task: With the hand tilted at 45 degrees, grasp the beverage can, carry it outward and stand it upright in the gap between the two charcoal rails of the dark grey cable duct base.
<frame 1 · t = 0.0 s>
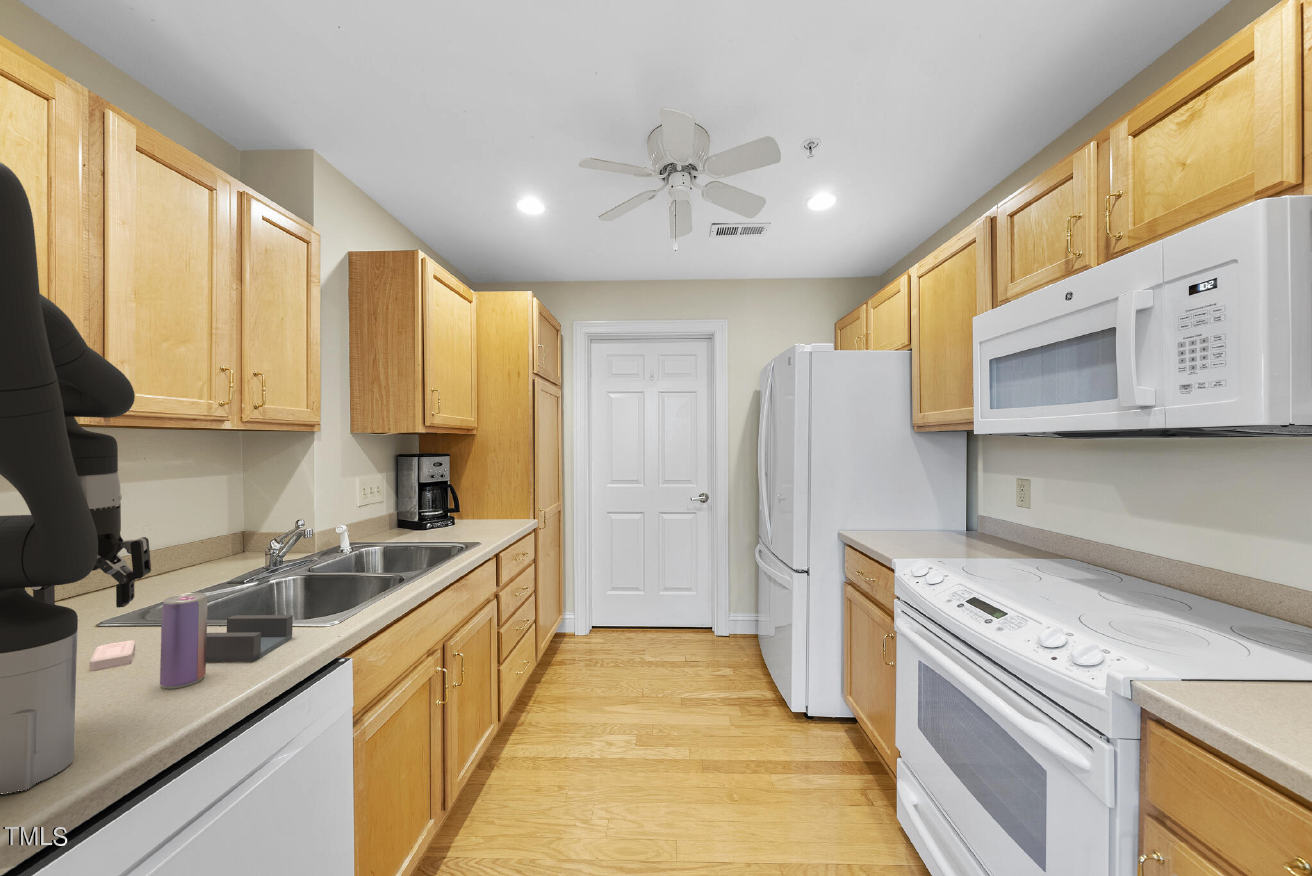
hand: (86, 608, 78), 17 cm above the counter, tool pointing down, fingers open, 8 cm apart
soap bar: (113, 662, 99), on the counter
duct channel: (242, 649, 105), on the counter
beverage can: (183, 683, 91), on the counter
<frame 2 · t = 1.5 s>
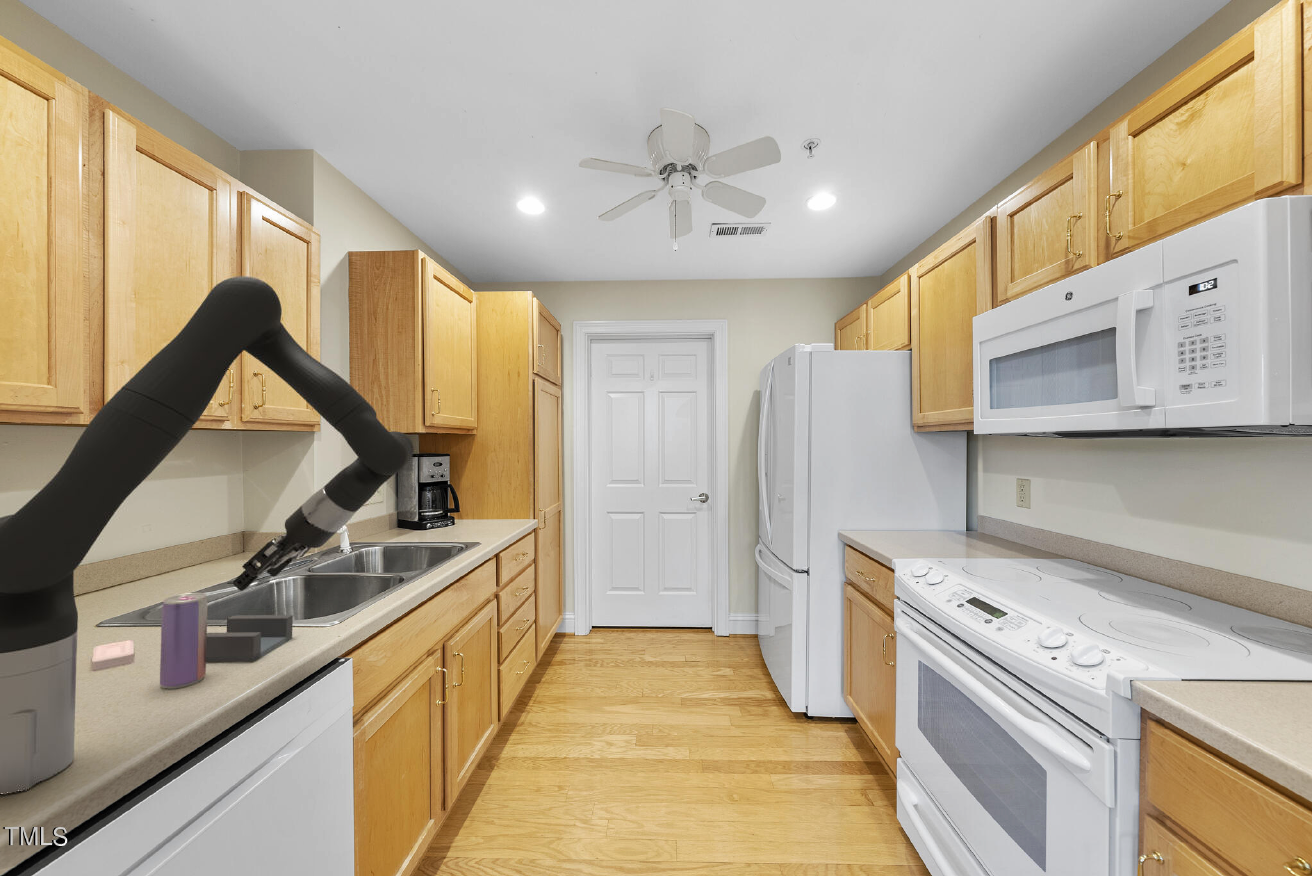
hand: (254, 579, 92), 18 cm above the counter, tool tilted 45°, fingers open, 8 cm apart
nothing on the counter moved.
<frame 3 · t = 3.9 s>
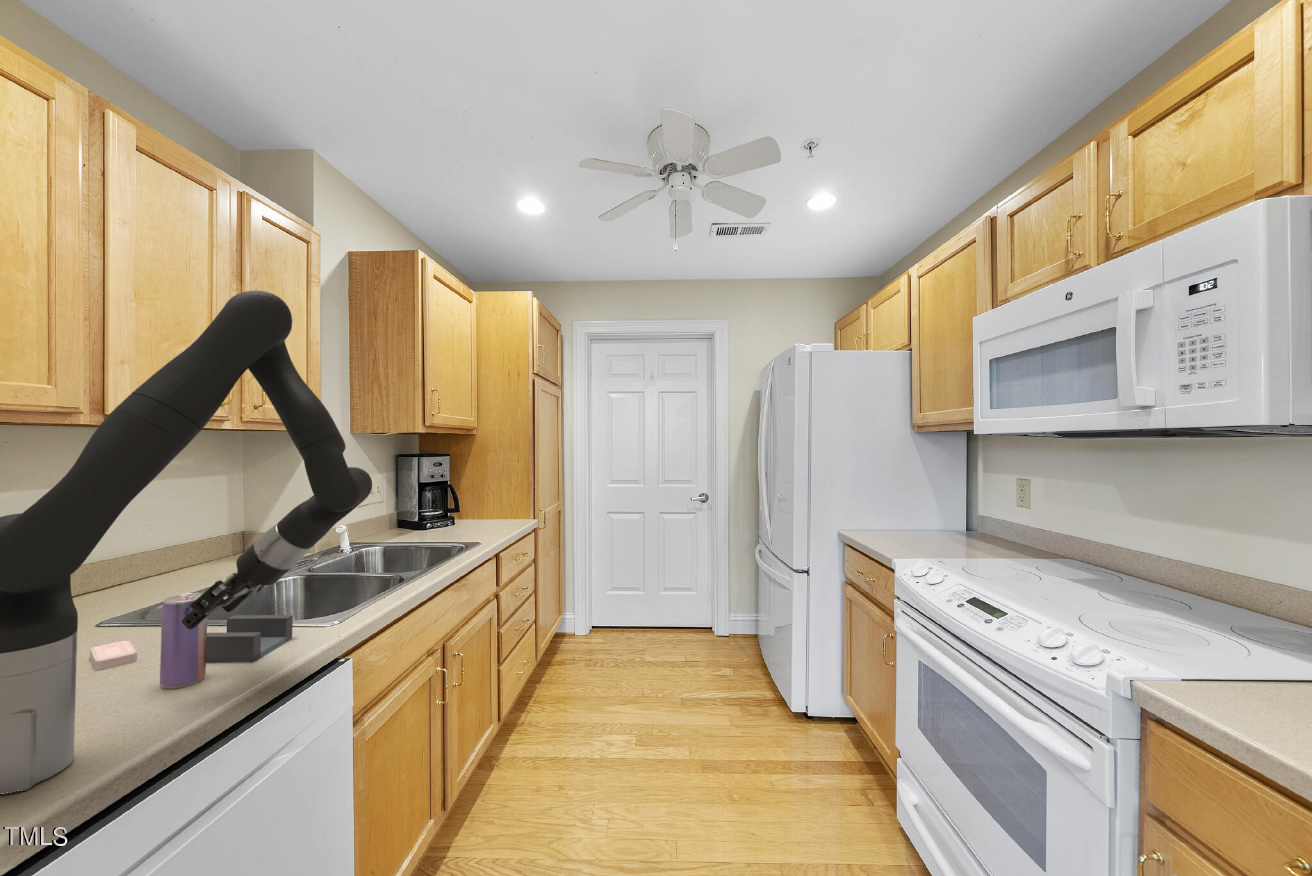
hand: (206, 616, 91), 12 cm above the counter, tool tilted 45°, fingers open, 8 cm apart
nothing on the counter moved.
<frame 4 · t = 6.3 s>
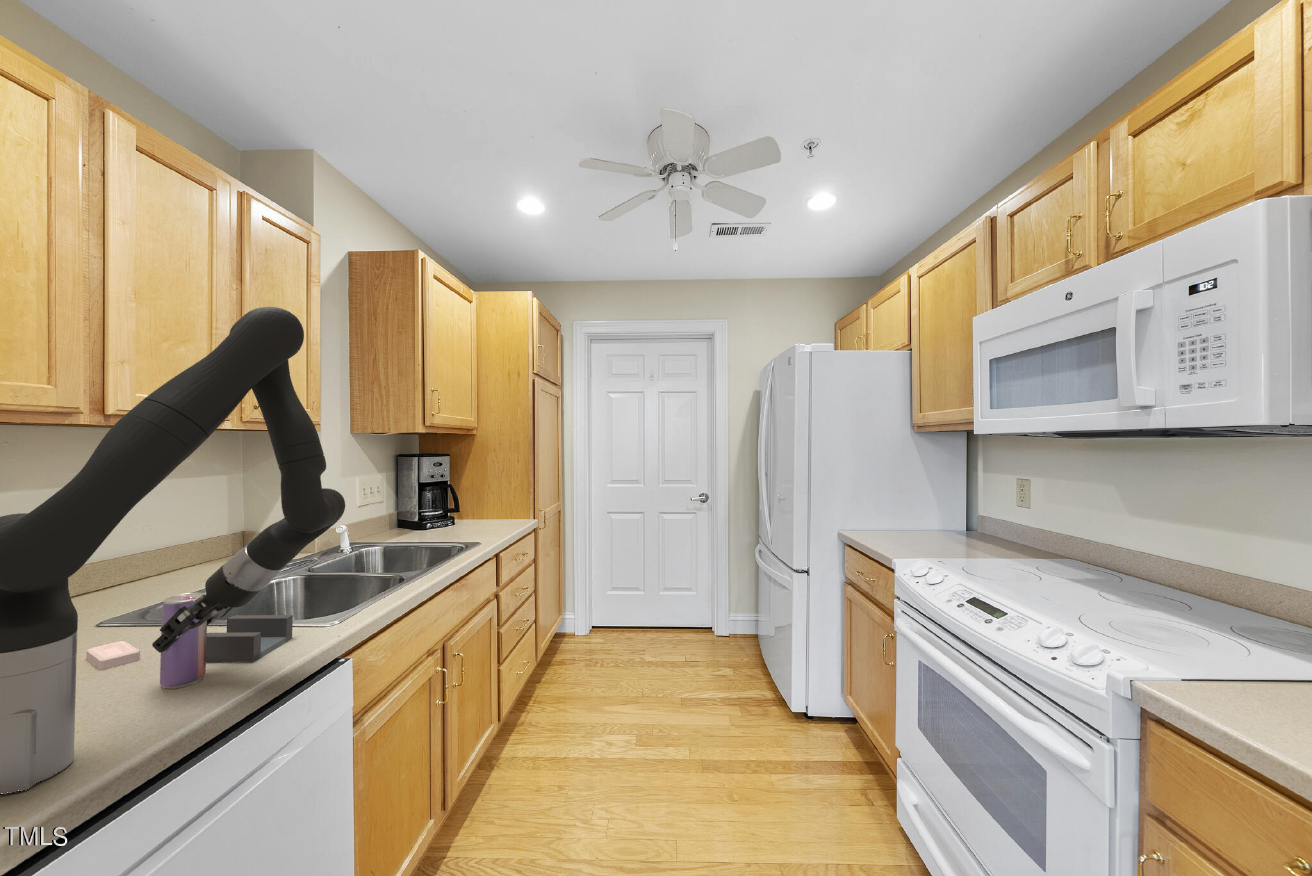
hand: (173, 640, 91), 7 cm above the counter, tool tilted 45°, fingers closed on beverage can, 5 cm apart
beverage can: (183, 682, 91), on the counter, touching gripper
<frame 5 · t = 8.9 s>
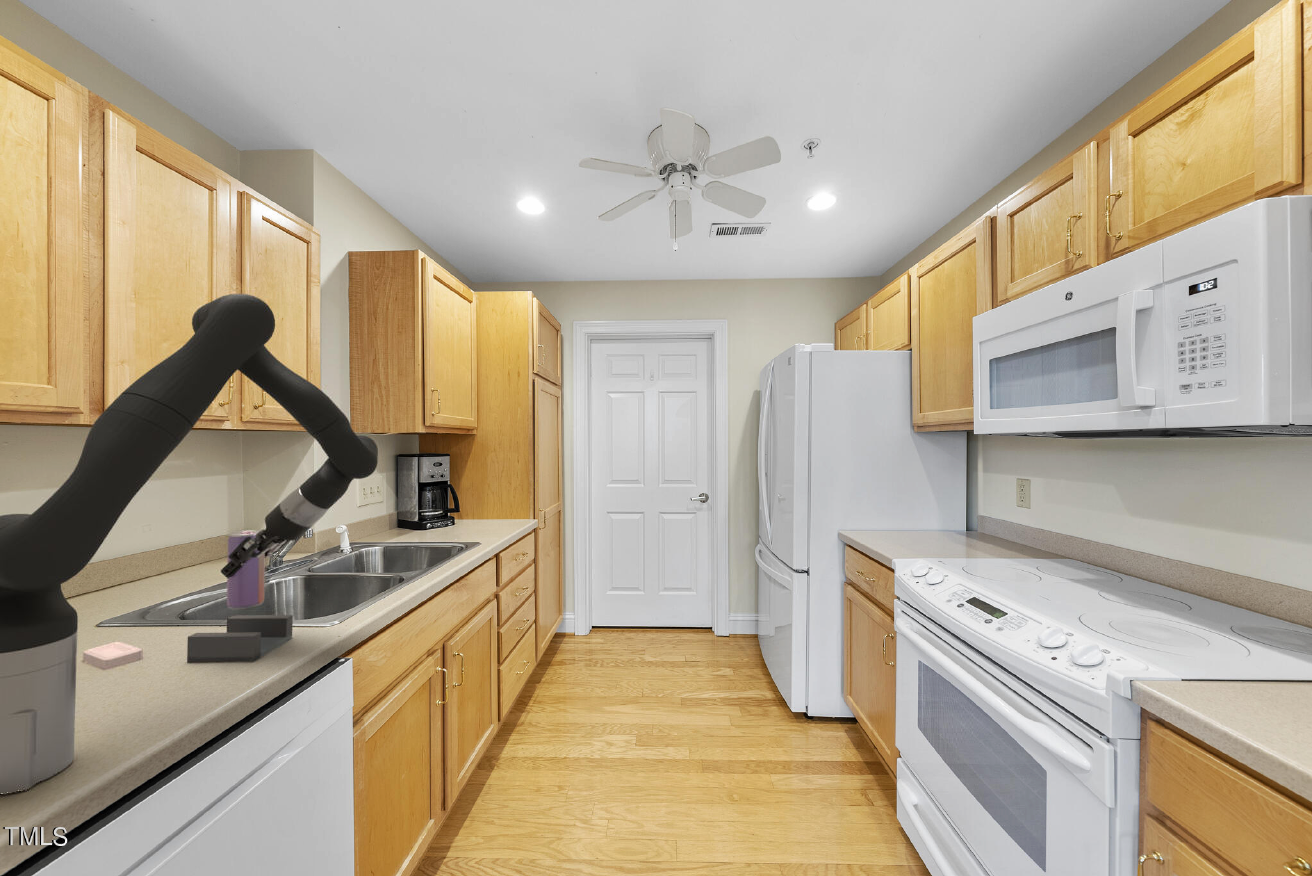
hand: (237, 570, 105), 16 cm above the counter, tool tilted 45°, fingers closed on beverage can, 5 cm apart
beverage can: (245, 606, 105), point 9 cm above the counter, touching gripper
when the fingers open (10 cm above the counter, at t = 11.7 s): beverage can drops 1 cm, resting on duct channel.
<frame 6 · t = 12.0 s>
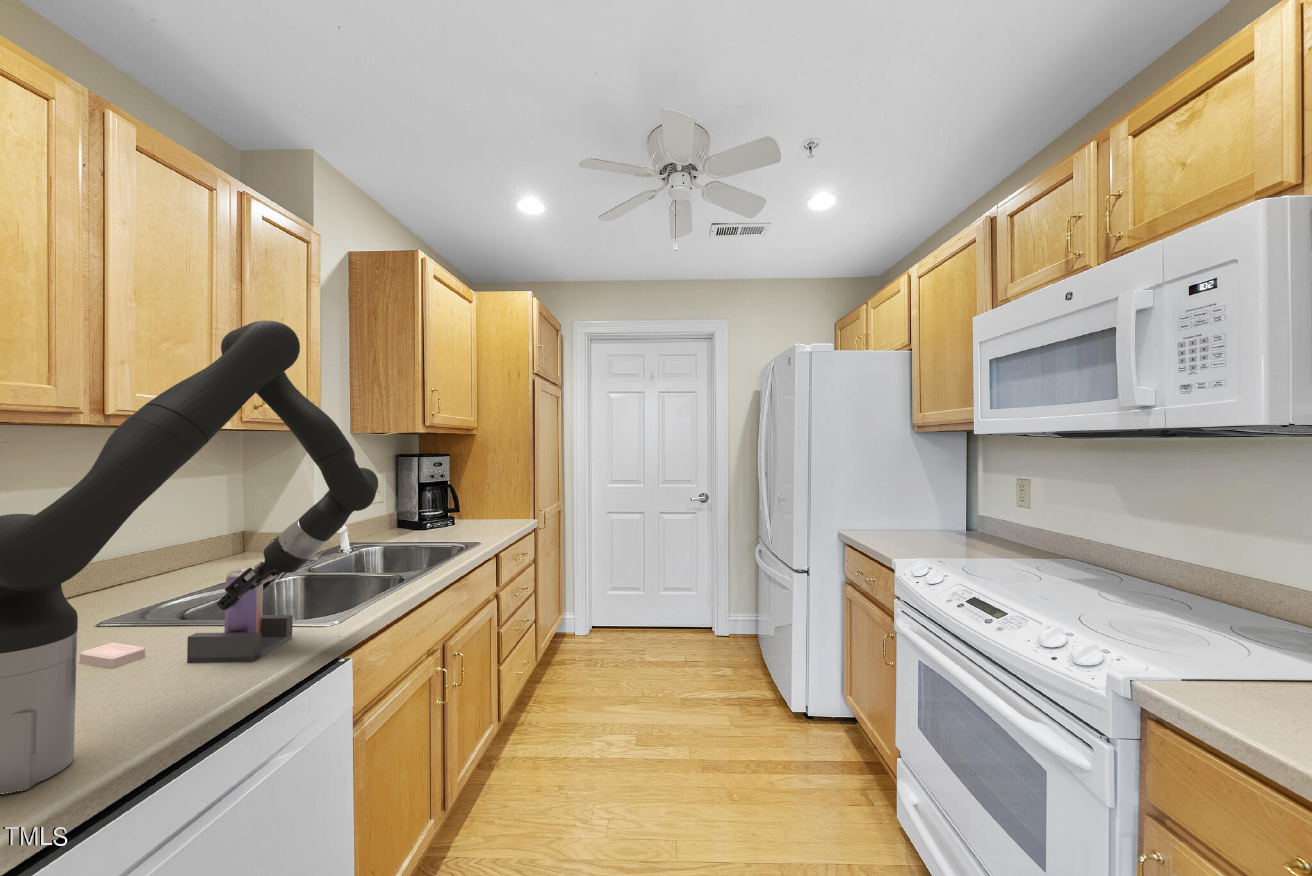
hand: (237, 600, 105), 10 cm above the counter, tool tilted 45°, fingers open, 8 cm apart
beverage can: (243, 646, 104), point 1 cm above the counter, touching duct channel
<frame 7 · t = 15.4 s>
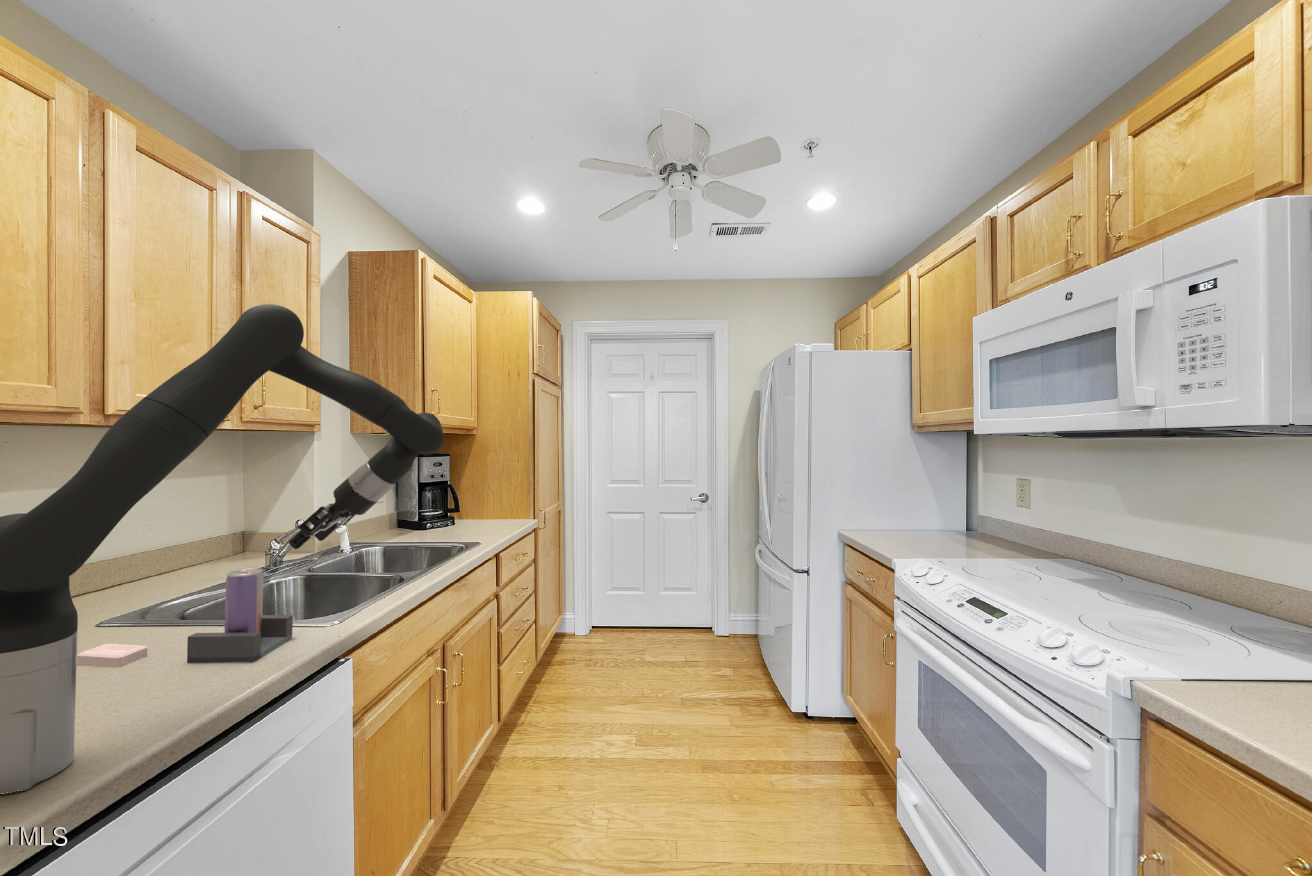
hand: (305, 541, 106), 22 cm above the counter, tool tilted 45°, fingers open, 8 cm apart
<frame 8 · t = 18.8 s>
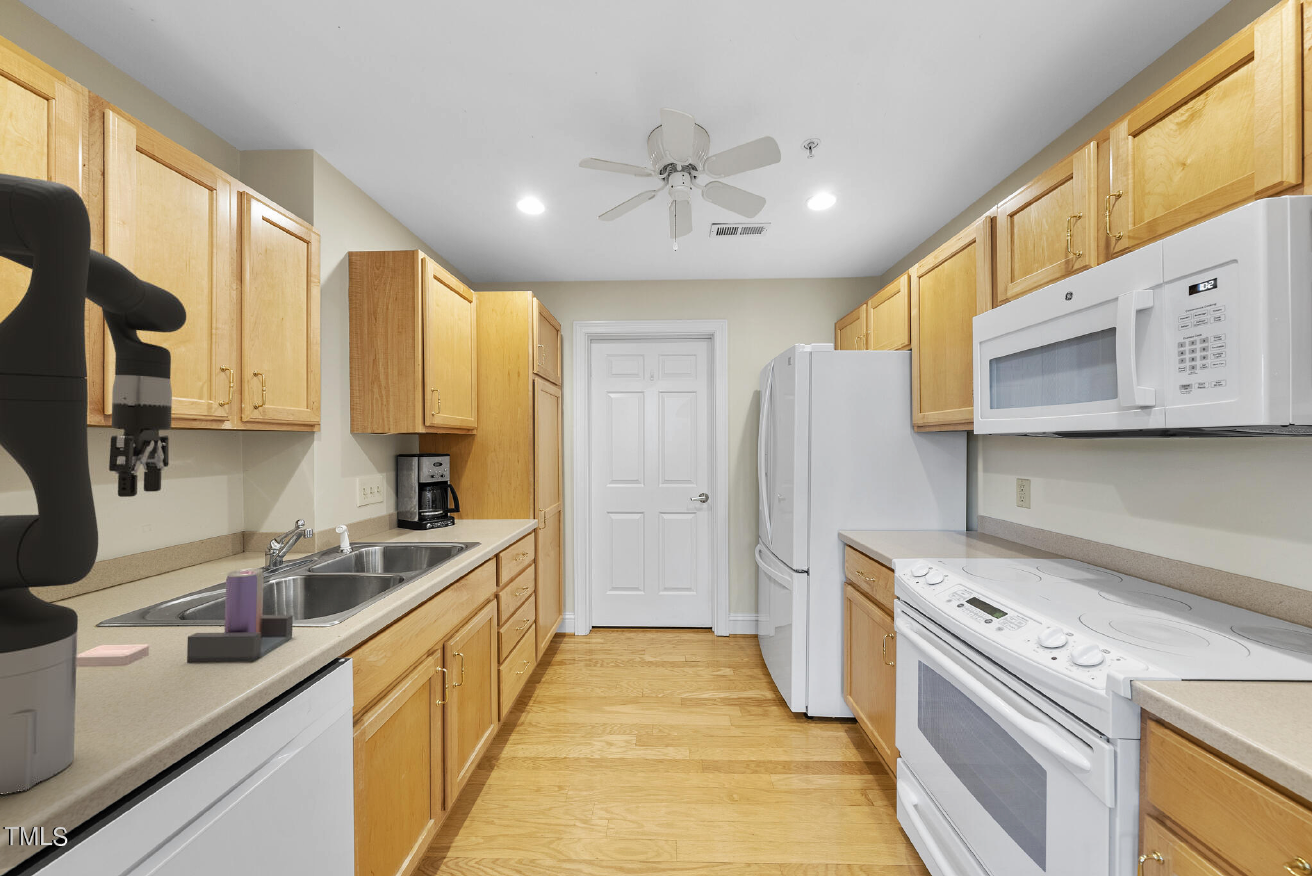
hand: (140, 493, 91), 33 cm above the counter, tool pointing down, fingers open, 8 cm apart
at the end: beverage can 0.3 cm off-centre on the duct channel, point 0.8 cm above the duct channel's base; beverage can tilted 0°; the gripper is holding nothing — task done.
